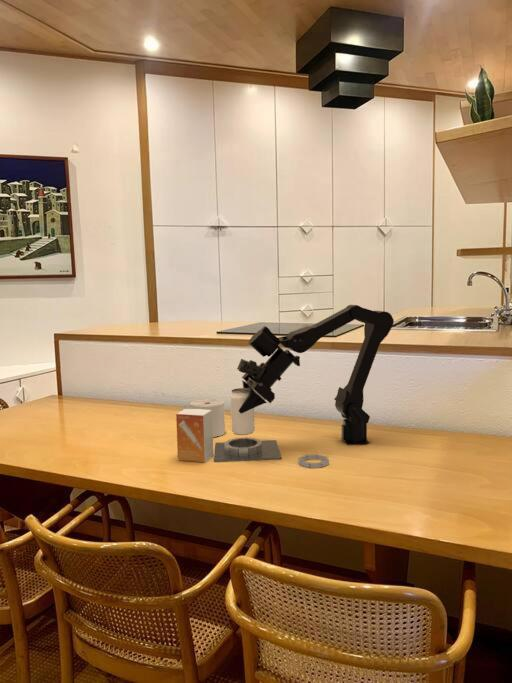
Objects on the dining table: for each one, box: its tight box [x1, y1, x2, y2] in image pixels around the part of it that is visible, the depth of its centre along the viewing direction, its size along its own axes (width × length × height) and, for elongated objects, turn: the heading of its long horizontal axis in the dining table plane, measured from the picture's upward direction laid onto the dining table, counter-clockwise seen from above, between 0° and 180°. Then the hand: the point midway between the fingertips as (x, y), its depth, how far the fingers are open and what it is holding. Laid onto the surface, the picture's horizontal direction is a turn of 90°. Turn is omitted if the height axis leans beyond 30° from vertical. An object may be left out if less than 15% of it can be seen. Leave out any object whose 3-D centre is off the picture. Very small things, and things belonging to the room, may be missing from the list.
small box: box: [175, 409, 214, 463], centre depth 143 cm, size 8×6×13 cm
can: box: [229, 387, 256, 436], centre depth 147 cm, size 6×6×12 cm
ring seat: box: [213, 436, 282, 463], centre depth 148 cm, size 18×16×2 cm
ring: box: [297, 453, 330, 469], centre depth 137 cm, size 8×8×1 cm
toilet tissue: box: [180, 398, 226, 438], centre depth 166 cm, size 11×12×10 cm
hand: (237, 409), depth 147 cm, fingers closed on can, 6 cm apart
